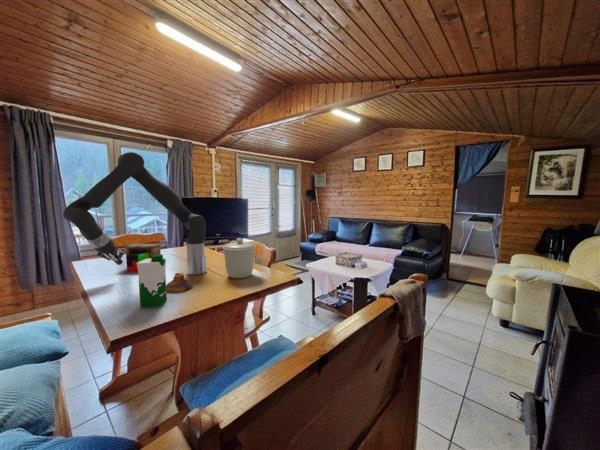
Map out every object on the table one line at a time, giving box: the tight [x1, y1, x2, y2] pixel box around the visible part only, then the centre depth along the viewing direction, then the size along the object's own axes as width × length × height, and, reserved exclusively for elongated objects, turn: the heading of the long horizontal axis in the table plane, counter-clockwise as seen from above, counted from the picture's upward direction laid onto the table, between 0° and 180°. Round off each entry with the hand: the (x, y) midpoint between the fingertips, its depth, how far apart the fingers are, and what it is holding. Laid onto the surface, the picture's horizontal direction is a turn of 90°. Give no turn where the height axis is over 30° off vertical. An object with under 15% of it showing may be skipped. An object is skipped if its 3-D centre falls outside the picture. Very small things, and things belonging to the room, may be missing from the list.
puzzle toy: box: [125, 251, 151, 273], centre depth 153 cm, size 10×10×10 cm
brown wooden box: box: [125, 243, 161, 263], centre depth 155 cm, size 16×8×14 cm, turn 90°
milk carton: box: [137, 254, 168, 309], centre depth 104 cm, size 9×9×20 cm
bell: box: [166, 272, 193, 294], centre depth 123 cm, size 12×12×7 cm
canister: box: [222, 237, 257, 279], centre depth 143 cm, size 18×18×21 cm
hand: (120, 263), depth 133 cm, fingers closed
